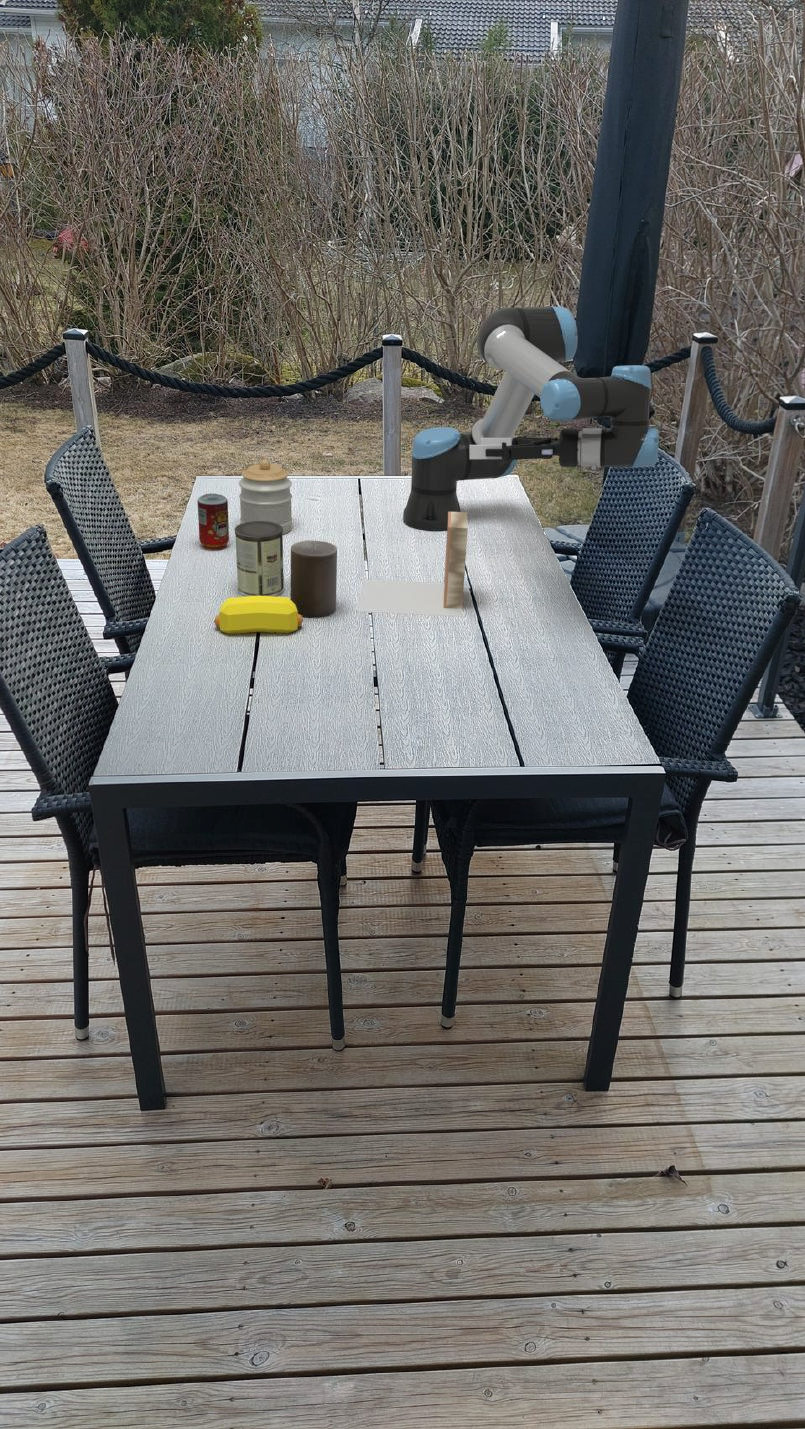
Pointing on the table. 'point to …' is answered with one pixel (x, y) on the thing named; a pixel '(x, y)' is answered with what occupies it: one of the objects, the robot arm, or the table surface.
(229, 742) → the table surface
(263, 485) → the jar
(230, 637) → the table surface
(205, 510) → the soda can
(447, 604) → the birch board
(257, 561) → the coffee can
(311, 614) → the pillar candle
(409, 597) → the rubber mat
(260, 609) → the hot dog
